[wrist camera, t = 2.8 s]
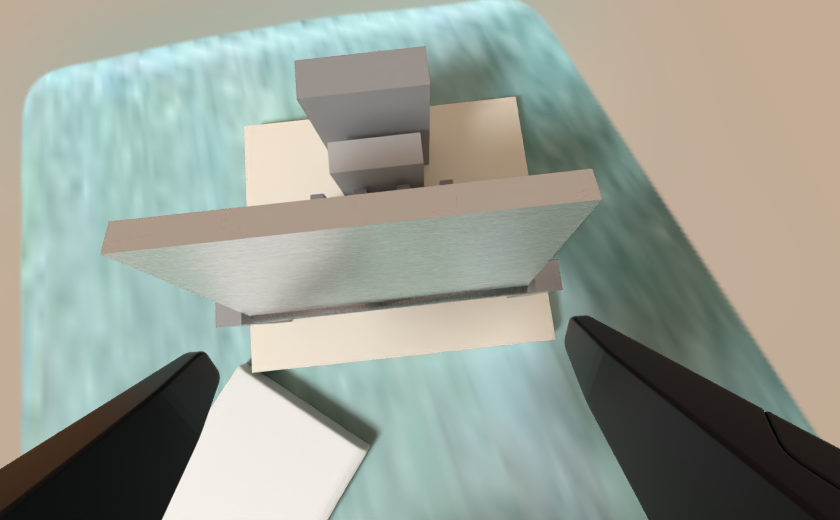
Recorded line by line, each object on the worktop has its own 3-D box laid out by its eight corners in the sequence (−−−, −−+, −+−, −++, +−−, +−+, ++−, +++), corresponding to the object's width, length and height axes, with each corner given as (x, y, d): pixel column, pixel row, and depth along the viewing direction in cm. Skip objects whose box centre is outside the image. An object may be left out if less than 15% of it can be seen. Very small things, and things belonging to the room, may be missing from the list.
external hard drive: (372, 441, 19) (240, 664, 18) (251, 361, 20) (115, 568, 18) (367, 453, 18) (222, 700, 16) (236, 365, 18) (85, 593, 17)
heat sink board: (549, 338, 19) (634, 354, 11) (261, 369, 19) (145, 407, 11) (511, 106, 21) (561, -16, 14) (252, 135, 21) (151, 30, 14)
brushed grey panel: (522, 297, 15) (605, 207, 8) (261, 325, 15) (98, 263, 8) (516, 270, 15) (589, 161, 8) (263, 298, 15) (110, 213, 8)
